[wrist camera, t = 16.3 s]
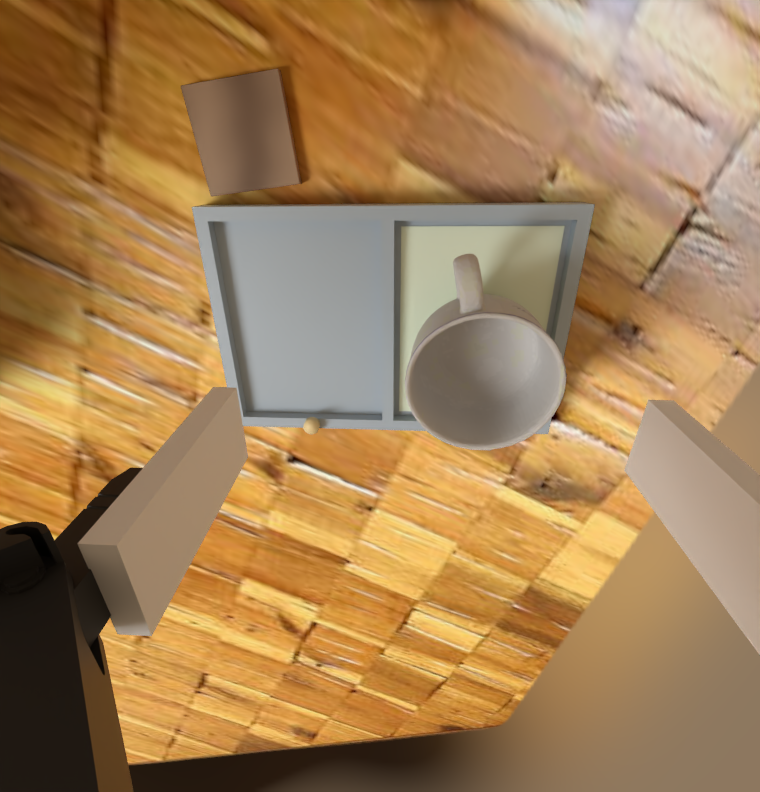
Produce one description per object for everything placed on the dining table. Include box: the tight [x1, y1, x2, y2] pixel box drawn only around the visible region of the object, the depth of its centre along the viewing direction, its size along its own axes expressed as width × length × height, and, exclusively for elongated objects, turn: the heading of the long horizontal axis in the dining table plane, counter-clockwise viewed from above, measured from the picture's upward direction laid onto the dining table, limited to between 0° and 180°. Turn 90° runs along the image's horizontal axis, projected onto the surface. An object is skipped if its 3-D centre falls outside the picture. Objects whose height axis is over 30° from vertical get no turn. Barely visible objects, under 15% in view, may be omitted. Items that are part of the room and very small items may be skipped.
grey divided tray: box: [192, 202, 595, 434], centre depth 36 cm, size 29×19×3 cm, turn 91°
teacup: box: [405, 254, 567, 450], centre depth 32 cm, size 14×11×8 cm
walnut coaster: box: [181, 69, 302, 196], centre depth 31 cm, size 7×7×1 cm
